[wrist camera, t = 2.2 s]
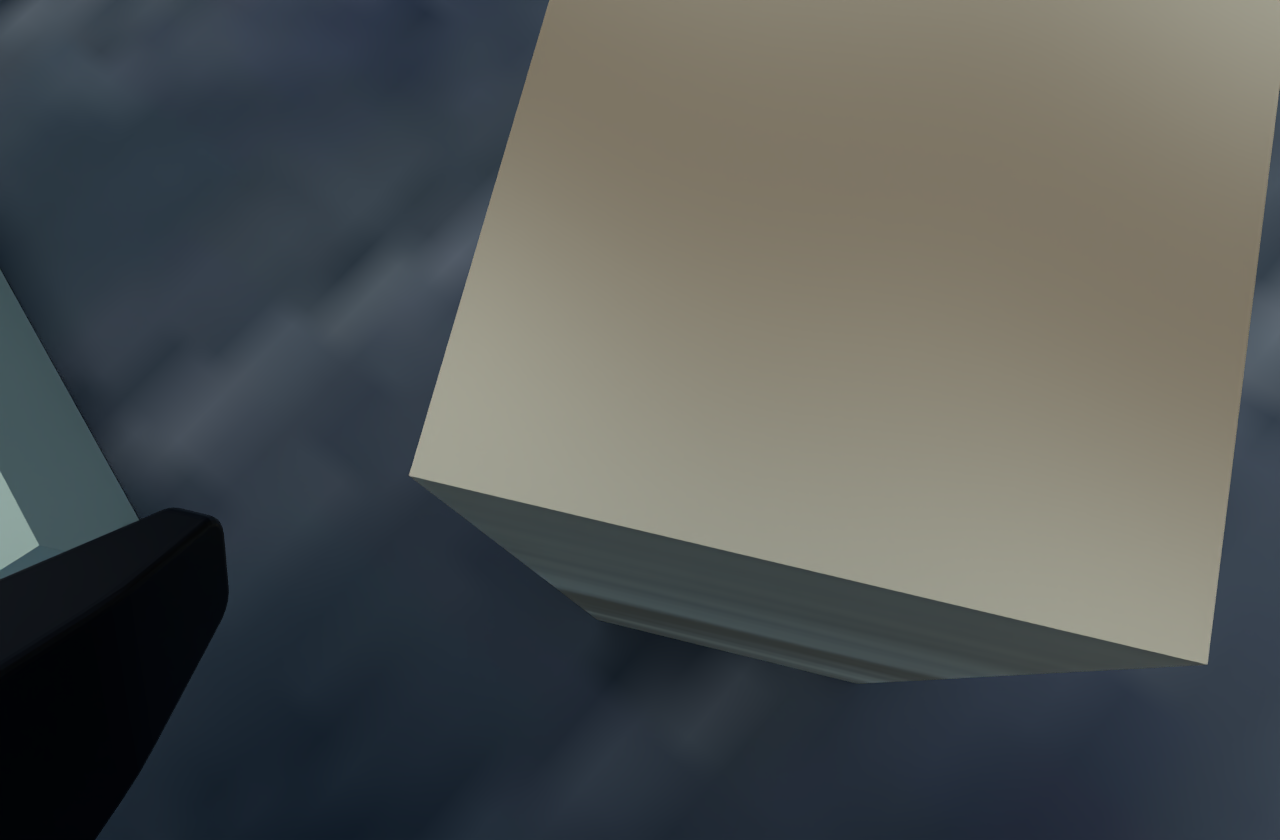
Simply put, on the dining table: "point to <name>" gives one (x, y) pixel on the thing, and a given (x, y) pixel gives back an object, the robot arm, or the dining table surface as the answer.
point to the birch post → (871, 326)
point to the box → (46, 455)
